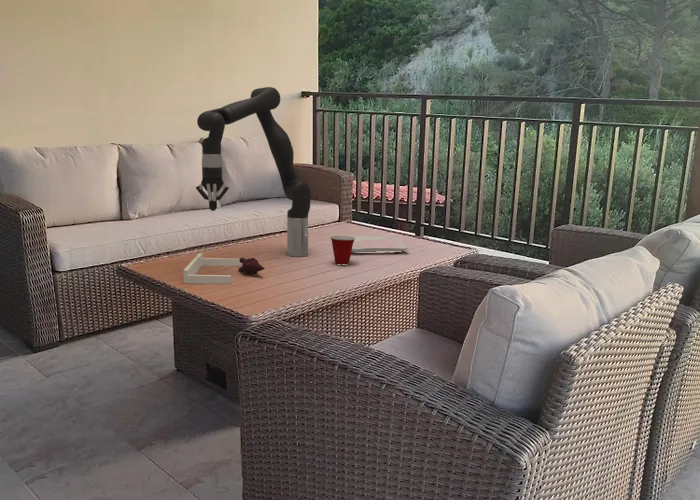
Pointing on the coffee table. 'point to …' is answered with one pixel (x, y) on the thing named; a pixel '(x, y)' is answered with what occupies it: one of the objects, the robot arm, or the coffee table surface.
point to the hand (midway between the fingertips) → (213, 210)
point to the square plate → (378, 248)
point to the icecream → (250, 266)
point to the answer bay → (200, 261)
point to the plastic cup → (342, 248)
